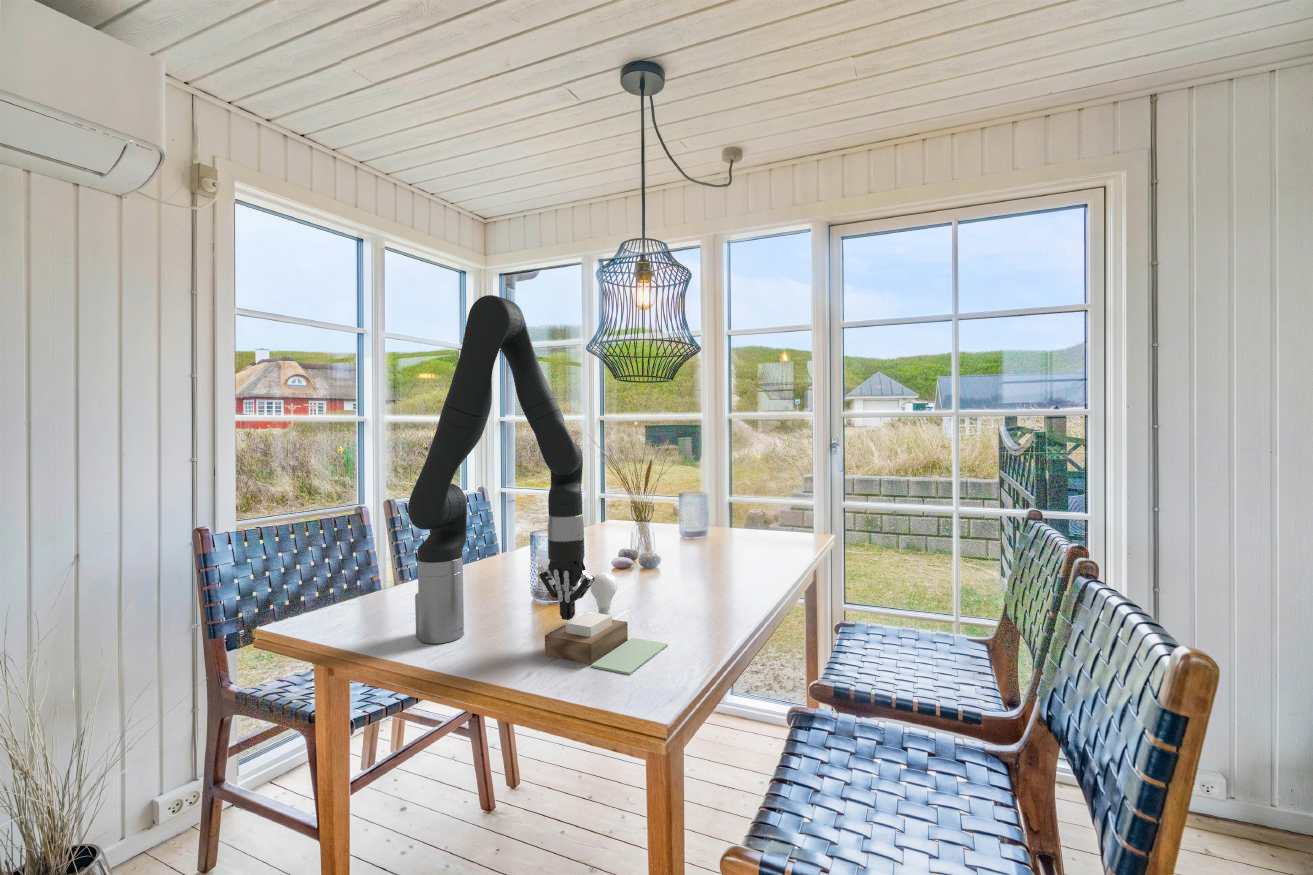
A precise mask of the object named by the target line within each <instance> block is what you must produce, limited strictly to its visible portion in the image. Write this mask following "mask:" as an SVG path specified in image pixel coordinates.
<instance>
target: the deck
mask: <svg viewBox="0 0 1313 875" xmlns="http://www.w3.org/2000/svg"><path fill="white" fill-rule="evenodd" d="M628 633H629V632H628V621H623V620H618V619H612V625H611V626H609V627H608V628H606V629H604V630H603V631H601V632H599V633H597V634H596V635H594V636H592V637H587V636H581V635H576V634H570V633H566V624H564V625H562V626H560V627H558V628H556V629H554V630H552V631H551V632H548V633H547V634H544V656H547V657H552V658H556V659H557V658H558V659H562V660H567V661H571V662H577V663H580V664H581V663H583V664H588V665H590V666H591V665H592V664H593V663H595V662H596V661H598V660H599V659H601V658H602V657H604V656H605V655H607V654H608V653H610V652H611V651H613V650H614V649H616V648H617V647H619V646H620V645H622V644H623V643H625V642H626V641H628V640H629V637H628V636H629V635H628Z"/></svg>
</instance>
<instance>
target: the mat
mask: <svg viewBox="0 0 1313 875" xmlns="http://www.w3.org/2000/svg"><path fill="white" fill-rule="evenodd" d="M668 646H669V644H668V643H666V642H659V641H653V640H649V639H648V640H647V639H642V638H637V637H631V638H628V641H626V642H625V643H623V644H622V645H620V646H619V647H617V648H616V649H614V650H613V651H611V652H610V653H608V654H607V655H605V656H604V657H602V658H601V659H599V660H598V661H596V662H595V663H593V664H592V665H591V664H590V667H591V668H595V669H600V670H603V671H609V672H614V673H620V674H624V675H628V676H629V675H630V676H631V675H632V674H633V673H634V672H636V671H637V670H639V669H640V668H641V667H642V666H644V665H645V664H646V663H648V662H649V661H650V660H652V659H653V658H654V657H655V656H657V655H658V654H660V653H661V651H664V649H666V648H667V647H668Z"/></svg>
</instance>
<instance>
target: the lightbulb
mask: <svg viewBox="0 0 1313 875" xmlns="http://www.w3.org/2000/svg"><path fill="white" fill-rule="evenodd" d="M593 576H594V577H595V580H594V582H593V583H592V585H591V586H590V587H589V590H590V592H591V594H592V596H593V597H594V599H595V601H596V605H597V609H598V613H600V614H606V615H611V614H610V612H611V611H610V610H611V607H610V606H611V605H612V600H613V598H614V596H615V595H616V593H617V591H618V582H617V579H616V578H615V576H614V575H613V574H611V573H609V572H605V571H604V572H603V571H602V572H599V573H597V574H595V575H593Z"/></svg>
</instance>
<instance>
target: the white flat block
mask: <svg viewBox="0 0 1313 875" xmlns="http://www.w3.org/2000/svg"><path fill="white" fill-rule="evenodd" d="M612 620H613V615H612V614H610V615H606V614H600V613H599V612H598V613H597V612H591V611H586V612H584V613H582V614H581V615H578V616H577V617H573V618H572V619H570V620H568V621H566V622H565V625H566V633H570V634H576V635H581V636H587V637H592V636H594V635H596V634H597V633H599V632H601V631H603V630H604V629H606V628H608V627H609V626H611V625H612Z"/></svg>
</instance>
